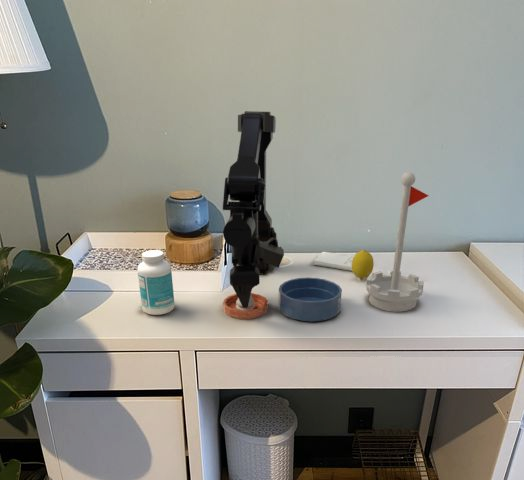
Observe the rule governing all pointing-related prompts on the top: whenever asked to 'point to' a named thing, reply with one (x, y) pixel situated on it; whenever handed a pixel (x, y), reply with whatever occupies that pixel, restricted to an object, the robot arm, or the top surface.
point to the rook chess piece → (250, 305)
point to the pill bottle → (155, 283)
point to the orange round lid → (232, 311)
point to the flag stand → (398, 264)
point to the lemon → (362, 264)
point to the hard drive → (334, 261)
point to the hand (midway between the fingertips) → (245, 298)
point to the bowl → (309, 299)
